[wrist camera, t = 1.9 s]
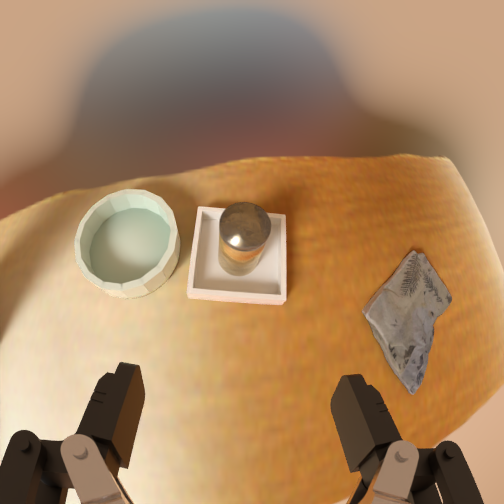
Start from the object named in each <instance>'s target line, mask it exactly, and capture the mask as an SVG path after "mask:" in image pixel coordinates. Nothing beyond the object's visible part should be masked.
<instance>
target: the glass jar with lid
mask: <svg viewBox="0 0 504 504" xmlns="http://www.w3.org/2000/svg"><path fill="white" fill-rule="evenodd" d="M270 232H271V221H270V218H269V216H268V214H267V213H266V212H265V211H264V210H263V209H262V208H261V207H259V206H257V205H255V204H252V203H248V202H240V203H235V204H233V205H231V206H229V207H228V208H226V209H225V210H224V211H223V213H222V215H221V217H220V220H219V247H218V261H219V264H220V266H221V268H222V269H223V270H224V271H225V272H227V273H228V274H230V275H233V276H245V275H247V274H249V273H251V272H252V271H253V270H254V269H255V268H256V266H257V263H258V261H259V258H260V256H261V254H262V251H263V249H264V246H265V244H266V241H267V240H268V237H269V235H270Z"/></svg>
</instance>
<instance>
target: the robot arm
mask: <svg viewBox="0 0 504 504" xmlns="http://www.w3.org/2000/svg"><path fill="white" fill-rule="evenodd" d="M90 399H91V400H90V401H89V403H88V406H87V408H86V410H85V413H84V415H83V418H82V420H81V422H80V425H79V427H78V430H77V432H76V433H75V434H74V435H71V436H69V437H67V438H66V439H65V440H63V441H51V440H39V438H38V437H37V436H36V435H35V434H34V433H33V432H31V431H28V430H21V431H18V432H16V433H15V434H14V435H13V436H12V437H11V439H10V442H9V444H8V447H7V449H6V452H5V455H4V457H3V460H2V463H1V466H0V504H65V502H66V497H67V492H68V488H73V489H75V490H76V492H77V495H78V497H79V499H80V501H81V504H134V503H133V501H132V500H131V498H130V496H129V495H128V493H127V491H126V490H125V488H124V486H123V485H122V483H121V481H120V479H119V478H118V471H119V467H122V468H127V469H128V466H129V462H130V457H131V453H132V449H133V445H134V440H135V436H136V432H137V428H138V424H139V420H140V417H141V413H142V409H143V405H144V400H145V389H144V384H143V379H142V375H141V370H140V366H139V365H135V364H129V363H124V362H120V363H119V365H118V367H117V369H116V372H115V374H113V373H108V372H107V373H106V374H105V375H104V376H103V377H102V378H101V379H99V380H98V383H97V385H96V387H95V389H94V393H93V394H92V396H91V398H90ZM331 412H332V415H333V418H334V421H335V425H336V428H337V431H338V434H339V437H340V440H341V444H342V447H343V450H344V453H345V457H346V460H347V463H348V466H349V470H350V473H352V472H356V471H360V473H361V476H360V478H359V479H358V482H357V484H356V486H355V488H354V490H353V492H352V494H351V496H350V498H349V499H348V501H347V503H346V504H442V502H441V499H440V496H439V493H438V490H437V488H436V485H435V483H437V485H438V488H439V491H440V493H441V496H442V499H443V504H484V503H483V500H482V498H481V495H480V492H479V490H478V488H477V485H476V483H475V480H474V478H473V476H472V473H471V471H470V469H469V466H468V464H467V462H466V460H465V458H464V456H463V453H462V451H461V449H460V448H459V446H458V445H457V444H456V443H454V442H452V441H443V442H441V443H440V444H439V445H438V446H437V447H436V448H430V449H418V448H416V447H415V446H414V445H413V444H412V443H410V442H408V441H403V440H402V438H401V436H400V434H399V432H398V430H397V427H396V425H395V423H394V421H393V419H392V417H391V415H390V413H389V412H388V409H387V407H386V405H385V404H384V401H383V399H382V397H381V395H380V393H379V392H378V391H377V390H376V389H375V388H374V387H373V386H372V385H367V384H366V382H365V380H364V378H363V376H362V375H361V374H354V375H343V376H342V377H341V379H340V381H339V383H338V386H337V388H336V390H335V392H334V394H333V396H332V399H331Z"/></svg>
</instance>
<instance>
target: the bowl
mask: <svg viewBox="0 0 504 504" xmlns="http://www.w3.org/2000/svg"><path fill="white" fill-rule="evenodd" d="M180 243H181V242H180V238H179V233H178V229H177V225H176V222H175V218H174V214H173V211H172V210H171V208H170V207H169V206H168V205H167V204H166V203H165V201H164V200H163V199H162V198H161V197H159V196H157V195H155V194H153V193H151V192H148V191H146V190H138V189H124V190H121V191H118V192H115V193H112V194H108V195H107V196H105V197H104V198H102V199H101V200H100V201H98V202H97V203H95V204H94V205H93V206H91V208H90V209H89V210H88V212H87V213H86V215H85V216H84V217H83V219H82V220H81V222H80V224H79V227H78V230H77V233H76V237H75V240H74V246H75V258H76V262H77V264H78V266H79V268H80V269H81V271H82V273H83V275H84V276H85V278H87V279H88V280H89V281H90V282H92V283H93V284H94V285H95V286H97V287H98V288H100V289H101V290H103V291H104V292H106V293H107V294H109V295H110V296H114V297H117V298H123V299H133V298H139V297H143V296H145V295H148V294H150V293H152V292H154V291H155V290H157V289H158V288H160V287H161V286H162V285H163V284H164V283H165V282H166V281H167V280H168V279H169V277H170V276H171V274H172V273H173V271H174V269H175V267H176V265H177V262H178V259H179V254H180Z"/></svg>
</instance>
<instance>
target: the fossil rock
mask: <svg viewBox="0 0 504 504" xmlns="http://www.w3.org/2000/svg"><path fill="white" fill-rule="evenodd" d="M451 301H452V297H451V295H450V293H449V291H448V290H447V288H446V286H445V285H444V284H443V282H442V281H441V279H440V278H439V277H438V275H437V273H436V272H435V270H434V268H433V267H432V266H431V265H430V263H429V262H428V260H427V258H426V256H425V255H424V253H419V254H417V253H416V252H415V251H414V250H413V251H411V252H410V253H409V254H408V255H407V256H406V257H405V258H404V259H403V260H402V261H401V263H400V265H399V267H398V268H397V269H396V271H395V272H394V274H393V275H392V276H391V277H390V279H389V280H388V281H387V282H386V283H384V284H383V285H382V286H381V287H380V288H379V290H378V291H377V292H376V293H375V294H374V296H373V297H372V298H371V299H370V300H369V302H368V303H367V304H366V306H365V307H364V308H363V310H362V313H363V314H364V316H365V317H366V319H367V320H368V322H369V325H370V327H371V329H372V332H373V335H374V337H375V338H376V339H377V341H378V342H379V344H380V345H381V348H382V350H383V352H384V355H385V358H386V360H387V362H388V363H389V365H390V366H391V368H392V369H393V371H394V373H395V374H396V375H397V376H398V378H399V379H400V381H401V382H402V383H403V385H404V386H405V387H406V389H407V390H408V392H409V393H410V394H414V393H415V392H416V391H417V389H418V388H419V387H420V385H421V383H422V380H423V378H424V374H425V371H426V367H427V363H428V353H429V352H430V349H431V345H432V342H433V337H434V328H433V324H434V322H435V320H436V318H437V317H438V316H440V315H442V313H444V312H445V310H446V309H447V307H448V306H449V305H450V303H451Z"/></svg>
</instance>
